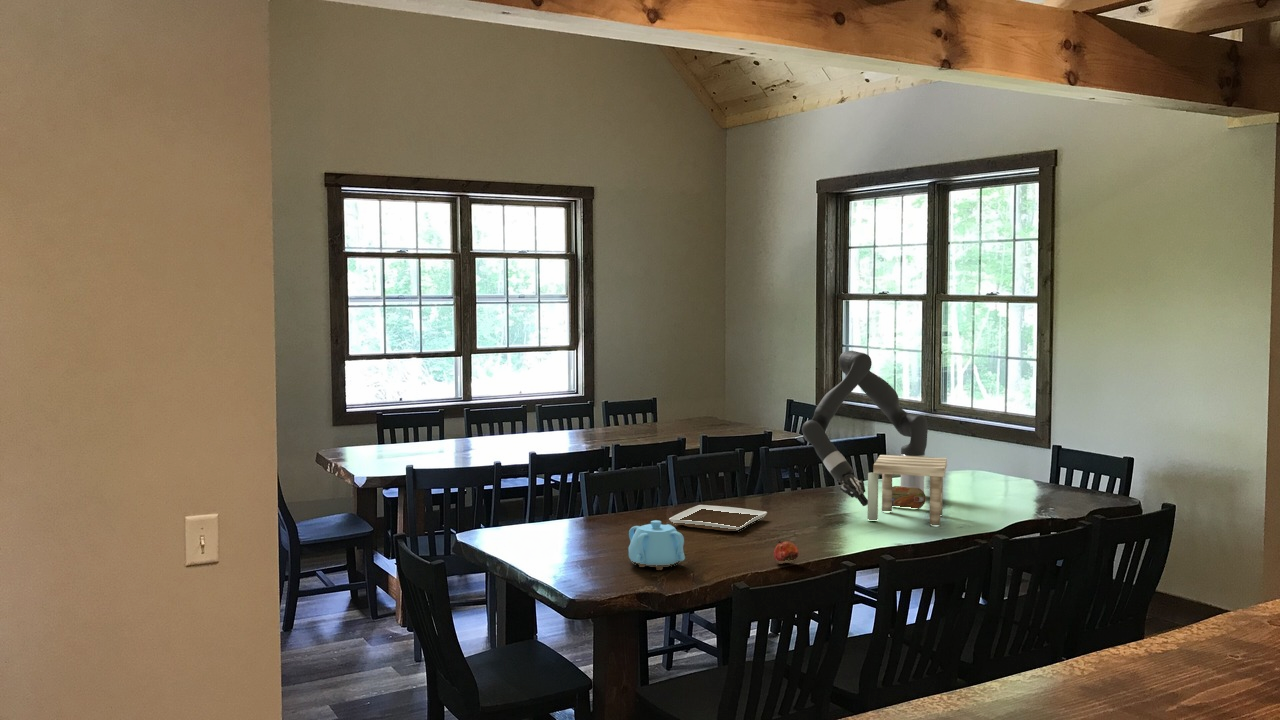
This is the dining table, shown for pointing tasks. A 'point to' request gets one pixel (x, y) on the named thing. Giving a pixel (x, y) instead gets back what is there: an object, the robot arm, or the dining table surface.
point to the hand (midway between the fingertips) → (866, 504)
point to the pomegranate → (785, 551)
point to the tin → (908, 497)
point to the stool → (916, 467)
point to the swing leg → (873, 496)
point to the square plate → (716, 508)
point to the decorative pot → (656, 544)
